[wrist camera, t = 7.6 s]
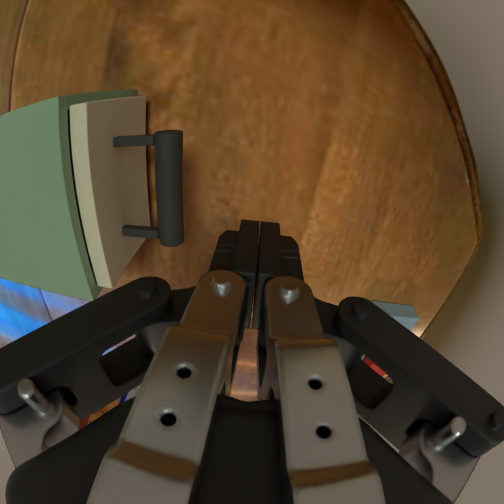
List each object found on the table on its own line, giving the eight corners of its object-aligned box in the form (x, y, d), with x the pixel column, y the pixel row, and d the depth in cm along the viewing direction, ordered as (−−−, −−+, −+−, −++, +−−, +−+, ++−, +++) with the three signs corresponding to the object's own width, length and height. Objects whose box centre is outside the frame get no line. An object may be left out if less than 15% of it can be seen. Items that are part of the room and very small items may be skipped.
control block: (363, 298, 27) (373, 326, 23) (412, 305, 27) (425, 330, 24) (328, 356, 32) (333, 382, 29) (374, 358, 32) (381, 382, 29)
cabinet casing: (137, 89, 17) (58, 96, 9) (143, 231, 24) (94, 302, 16) (19, 114, 17) (-51, 140, 9) (35, 223, 24) (-18, 272, 15)
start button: (371, 345, 26) (375, 358, 24) (397, 346, 26) (402, 358, 24) (357, 365, 27) (359, 377, 26) (382, 365, 28) (385, 377, 26)
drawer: (203, 93, 17) (165, 92, 10) (199, 235, 23) (174, 298, 16) (27, 117, 16) (-33, 139, 10) (42, 223, 22) (-4, 264, 16)
